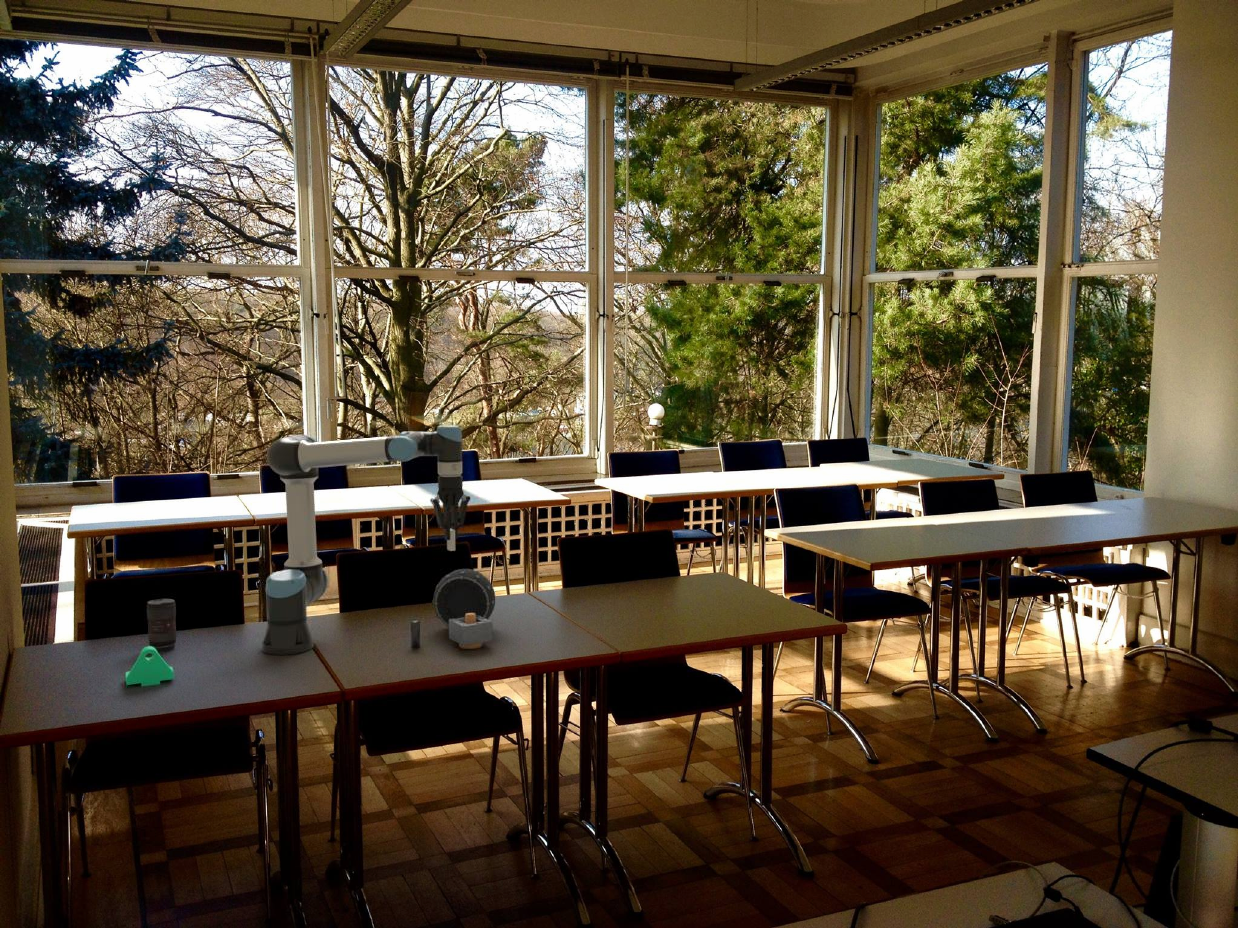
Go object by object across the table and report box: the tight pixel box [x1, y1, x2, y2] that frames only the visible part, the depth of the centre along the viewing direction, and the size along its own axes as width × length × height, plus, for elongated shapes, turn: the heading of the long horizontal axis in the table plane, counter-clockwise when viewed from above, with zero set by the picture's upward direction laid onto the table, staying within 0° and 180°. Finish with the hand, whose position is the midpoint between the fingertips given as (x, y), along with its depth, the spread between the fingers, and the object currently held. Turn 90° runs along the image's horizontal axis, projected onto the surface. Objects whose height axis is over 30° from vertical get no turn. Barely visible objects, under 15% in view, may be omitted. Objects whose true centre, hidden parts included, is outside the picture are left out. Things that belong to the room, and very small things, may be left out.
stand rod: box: [410, 619, 421, 649], centre depth 329 cm, size 3×3×8 cm
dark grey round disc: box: [432, 568, 496, 629], centre depth 349 cm, size 11×20×20 cm, turn 89°
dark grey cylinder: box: [146, 598, 177, 653], centre depth 326 cm, size 8×8×15 cm
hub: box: [458, 613, 483, 650], centre depth 331 cm, size 7×7×10 cm
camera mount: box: [125, 645, 175, 687], centre depth 295 cm, size 12×8×10 cm, turn 116°
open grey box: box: [448, 615, 493, 646], centre depth 331 cm, size 10×10×6 cm
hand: (451, 549), depth 332 cm, fingers closed
